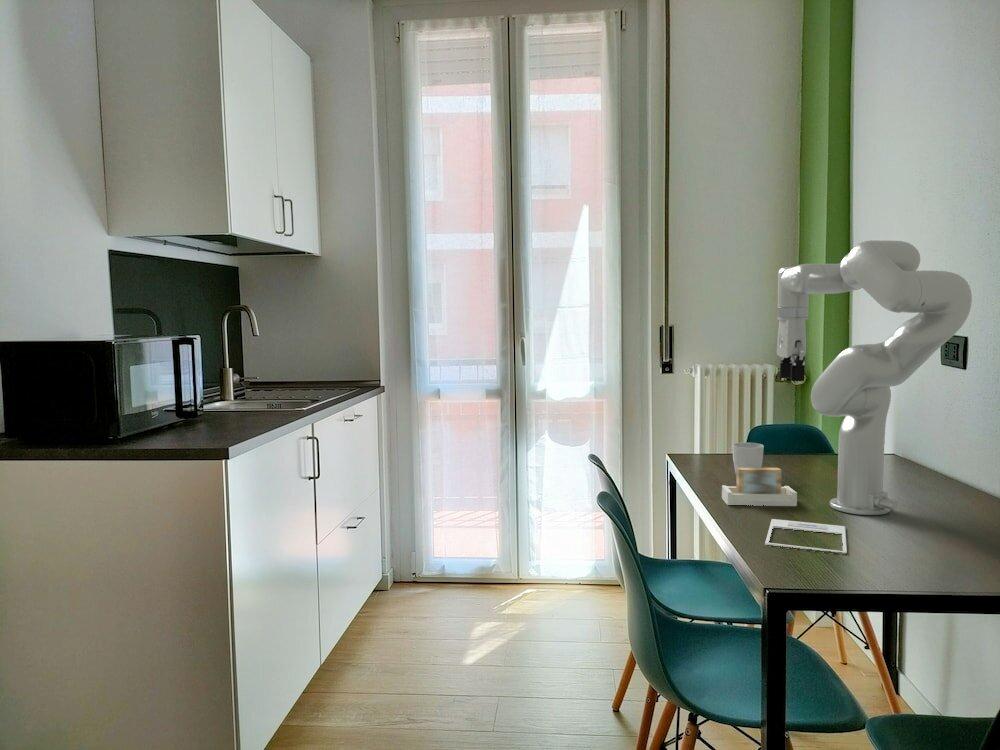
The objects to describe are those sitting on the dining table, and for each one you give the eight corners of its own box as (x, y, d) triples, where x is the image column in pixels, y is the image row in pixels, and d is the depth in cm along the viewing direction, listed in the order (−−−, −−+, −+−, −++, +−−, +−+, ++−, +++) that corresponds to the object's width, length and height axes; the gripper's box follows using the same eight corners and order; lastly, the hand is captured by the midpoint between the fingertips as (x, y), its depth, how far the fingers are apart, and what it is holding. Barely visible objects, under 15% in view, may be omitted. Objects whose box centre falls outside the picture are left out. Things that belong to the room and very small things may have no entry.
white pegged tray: (788, 498, 176) (788, 485, 175) (796, 506, 169) (797, 492, 168) (721, 498, 177) (721, 484, 177) (727, 505, 170) (727, 491, 170)
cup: (758, 477, 198) (759, 442, 197) (766, 484, 190) (767, 447, 189) (729, 477, 199) (729, 442, 198) (735, 484, 191) (736, 447, 190)
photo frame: (845, 525, 151) (846, 551, 135) (844, 530, 151) (846, 557, 135) (771, 518, 157) (764, 542, 141) (771, 522, 157) (764, 547, 141)
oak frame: (778, 495, 174) (778, 467, 173) (781, 498, 171) (781, 470, 171) (736, 495, 175) (736, 467, 174) (738, 498, 172) (739, 469, 172)
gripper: (768, 314, 195) (768, 376, 196) (787, 314, 178) (786, 382, 179) (797, 314, 194) (796, 376, 195) (819, 314, 177) (817, 382, 178)
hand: (791, 379), depth 187 cm, fingers open, 9 cm apart
